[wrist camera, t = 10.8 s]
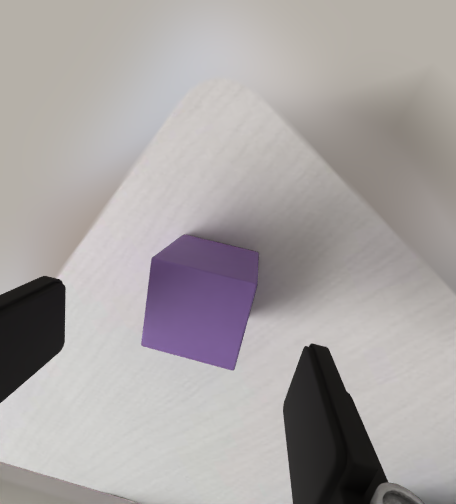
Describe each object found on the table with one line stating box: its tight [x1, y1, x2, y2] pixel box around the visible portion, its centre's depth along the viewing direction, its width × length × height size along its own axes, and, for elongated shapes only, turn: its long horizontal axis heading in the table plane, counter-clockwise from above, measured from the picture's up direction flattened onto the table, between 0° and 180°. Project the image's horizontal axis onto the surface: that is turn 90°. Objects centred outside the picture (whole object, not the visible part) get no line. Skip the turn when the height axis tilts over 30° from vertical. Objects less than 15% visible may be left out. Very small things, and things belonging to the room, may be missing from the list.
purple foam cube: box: [141, 234, 259, 370], centre depth 13 cm, size 4×4×4 cm
